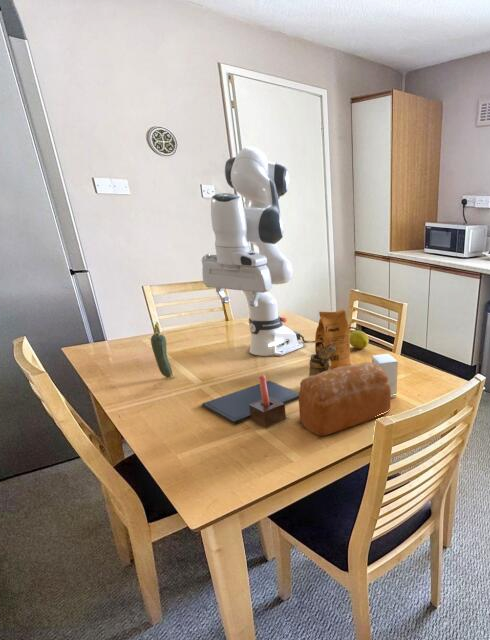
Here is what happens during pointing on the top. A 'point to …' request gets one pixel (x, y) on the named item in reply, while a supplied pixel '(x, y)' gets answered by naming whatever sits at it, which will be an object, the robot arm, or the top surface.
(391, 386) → the small box
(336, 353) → the coffee package
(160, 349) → the vegetable
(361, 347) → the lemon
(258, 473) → the top surface
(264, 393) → the red rod
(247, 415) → the tablet
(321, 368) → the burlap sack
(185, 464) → the top surface
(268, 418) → the holder
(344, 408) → the bread
